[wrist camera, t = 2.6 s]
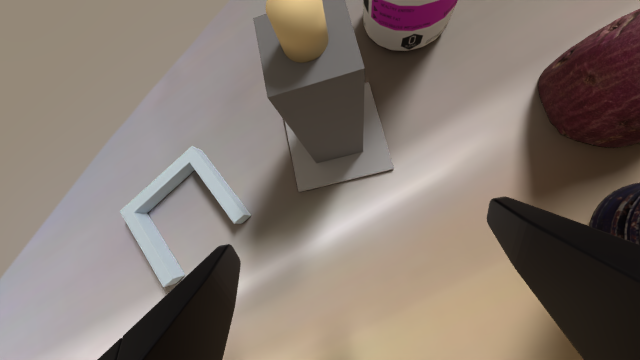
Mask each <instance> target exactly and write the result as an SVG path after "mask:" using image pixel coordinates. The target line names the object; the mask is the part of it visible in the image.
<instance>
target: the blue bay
mask: <svg viewBox="0 0 640 360" xmlns="http://www.w3.org/2000/svg"><path fill="white" fill-rule="evenodd" d="M194 170H196V172H197V173H198V175H199V176H200V177H201V179H202V180H203V181H204V183H205V184H206V186H207V187H208V188H209V190H210V191H211V192H212V194H213V195H214V197H215V198H216V199H217V201H218V202H219V204H220V205H221V206H222V208H223V209H224V210H225V212H226V213H227V215H228V216H229V217H230V219H231V220H232V221H233V223H234V224H242V223H243V222H244V221H246V220H247V219H248V218H249V217H250V216H251V214H250V213H249V212H248V210H247V209H246V208H245V206H244V205H243V204H242V202H241V201H240V200H239V198H238V197H237V196H236V195H235V193H234V192H233V191H232V189H231V188H230V187H229V185H228V184H227V183H226V181H225V180H224V179H223V177H222V176H221V175H220V173H219V172H218V171H217V169H216V168H215V167H214V166H213V164H212V163H211V162H210V160H209V159H208V158H207V156H206V155H205V154H204V152H203V151H202V150H200V149H198V148H196V147H194V146H191V147H190V148H189V149H188V150H187V151H186V152H185V153H184V154H183V155H181V156H180V157H179V158H178V159H177V160H176V161H175V162H174V163H173V164H171V165H170V166H169V167H168V168H167V169H166V170H165V171H164V172H163V173H162V174H160V175H159V176H158V177H157V178H156V179H155V180H154V181H153V182H152V183H151V184H149V185H148V186H147V187H146V188H145V189H144V190H143V191H142V192H141V193H140V194H138V195H137V196H136V197H135V198H134V199H133V200H132V201H131V202H130V203H128V204H127V205H126V206H125V207H124V208H123V209H122V210H121V211H120V213H121V215H122V216H123V218H124V220H125V221H126V223H127V225H128V227H129V228H130V230H131V232H132V234H133V235H134V237H135V239H136V241H137V242H138V244H139V246H140V248H141V249H142V251H143V253H144V254H145V256H146V258H147V260H148V261H149V263H150V265H151V267H152V268H153V270H154V272H155V274H156V275H157V277H158V279H159V281H160V282H161V284H162V286H163V287H166V286H169V285H172V284H176V283H177V282H178V281H179V280H180V279H181V278H182V277H184V276H185V274H184V273H183V271H182V269H181V268H180V266H179V264H178V263H177V261H176V259H175V258H174V256H173V255H172V253H171V251H170V250H169V248H168V246H167V245H166V243H165V242H164V240H163V238H162V237H161V235H160V233H159V232H158V230H157V228H156V227H155V225H154V224H153V222H152V220H151V219H150V217H149V215H148V214H147V213H148V212H149V211H150V210H151V209H152V208H153V207H154V206H156V205H157V204H158V203H159V202H160V201H161V200H162V199H163V198H164V197H165V196H167V195H168V194H169V193H170V192H171V191H172V190H173V189H174V188H175V187H177V186H178V185H179V184H180V183H181V182H182V181H183V180H184V179H185V178H186V177H188V176H189V175H190V174H191V173H192V172H193V171H194Z"/></svg>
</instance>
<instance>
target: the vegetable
mask: <svg viewBox="0 0 640 360" xmlns="http://www.w3.org/2000/svg"><path fill="white" fill-rule="evenodd" d="M538 88H539V95H540V99H541V102H542V103H543V106H544V109H545V111H546V113H547V116H548V118H549V119H550V122H551V123H552V124H553V125H554V126H555V127H556V128H557V129H558V131H559V132H560V133H561V134H563V135H566V136H567V137H568V138H571V139H574V140H576V141H580V142H584V143H588V144H593V145H597V146H600V147H612V148H615V147H622V146H628V145H632V144H636V143H639V142H640V9H638V10H636V11H634V12H632V13H630V14H627V15H625V16H623V17H621V18H619V19H617V20H615V21H614V22H612V23H611V24H609V25H607V26H605V27H603V28H602V29H600V30H598V31H596V32H595V33H593V34H591V35H590V36H588V37H587V38H585V39H584V40H582V41H581V42H579V43H578V44H576V45H575V46H573V47H571V48H570V49H569V50H567V51H566V52H565V53H563V54H562V55H561V56H560V57H558V58H557V59H556V60H555V61H554V62H553V63H551V64H550V65H549V66H548V67H547V68H546V69H545V70H544V71H543V73H542V75H541V76H540V80H539V87H538Z"/></svg>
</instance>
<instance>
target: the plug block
mask: <svg viewBox="0 0 640 360" xmlns="http://www.w3.org/2000/svg"><path fill="white" fill-rule="evenodd" d="M266 13H267V14H264V15H261V16H258V17H256V18H253V19H254V25H255V30H256V36H257V41H258V47H259V53H260V58H261V64H262V69H263V75H264V80H265V86H266V91H267V97H268V99H269V100H270V101H271V103H272V104H273V105H274V107H275V108H276V110H277V111H278V112H279V114H280V115H281V116H282V118H283V119H284V120H285V122H286V123H287V124H288V126H289V127H290V128H291V130H292V131H293V132H294V134H295V135H296V137H297V138H298V139H299V141H300V142H301V143H302V145H303V146H304V147H305V149H306V150H307V151H308V153H309V154H310V155H311V157H312V158H313V159H314V161H315V162H316V163H320V162H324V161H328V160H332V159H336V158H340V157H344V156H348V155H352V154H356V153H359V152H363V132H364V82H365V67H364V64H363V60H362V57H361V54H360V50H359V47H358V43H357V40H356V36H355V33H354V30H353V26H352V23H351V19H350V16H349V12H348V9H347V6H346V2H345V0H267V2H266Z"/></svg>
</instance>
